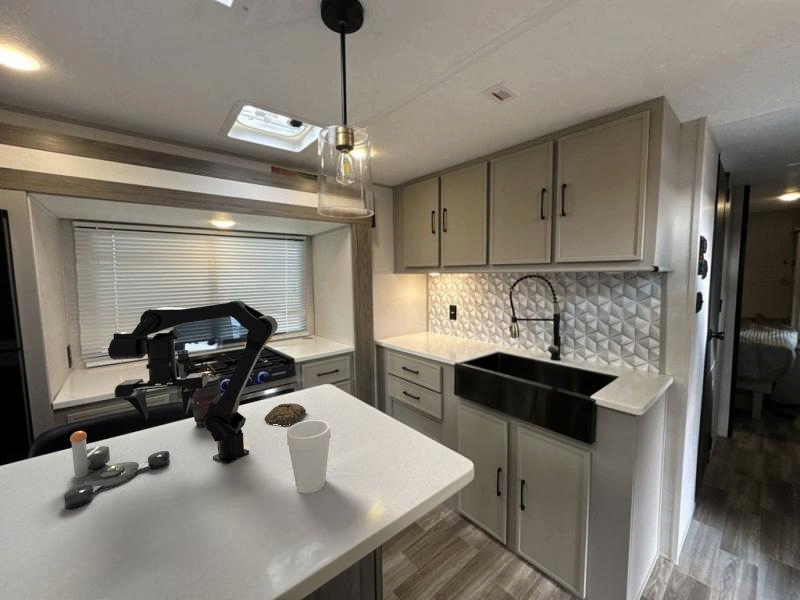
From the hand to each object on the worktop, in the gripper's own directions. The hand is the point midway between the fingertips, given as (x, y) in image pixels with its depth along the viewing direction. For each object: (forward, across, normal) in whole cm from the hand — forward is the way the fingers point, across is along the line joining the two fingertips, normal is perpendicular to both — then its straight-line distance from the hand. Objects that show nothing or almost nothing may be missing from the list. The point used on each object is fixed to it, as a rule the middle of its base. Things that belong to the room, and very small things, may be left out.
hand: (166, 417), depth 85 cm
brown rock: (+13, -28, -19) cm, 36 cm away
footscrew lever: (+11, +17, -1) cm, 20 cm away
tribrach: (+12, +12, +2) cm, 17 cm away
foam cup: (+12, -35, +22) cm, 43 cm away
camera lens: (+12, -4, -23) cm, 27 cm away
